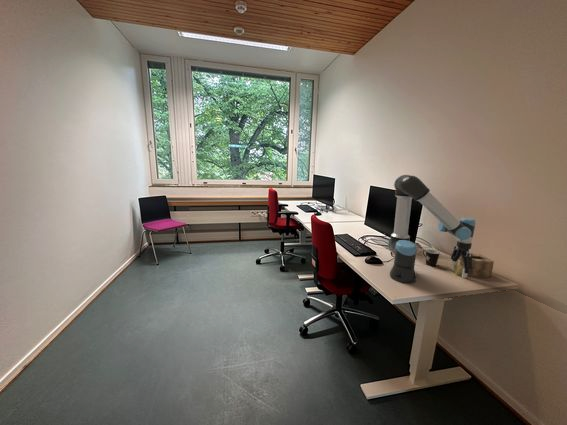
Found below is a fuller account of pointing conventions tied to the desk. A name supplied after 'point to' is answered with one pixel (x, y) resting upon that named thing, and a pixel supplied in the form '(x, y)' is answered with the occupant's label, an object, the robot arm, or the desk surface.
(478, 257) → the box
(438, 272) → the desk surface
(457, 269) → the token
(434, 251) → the coffee mug
